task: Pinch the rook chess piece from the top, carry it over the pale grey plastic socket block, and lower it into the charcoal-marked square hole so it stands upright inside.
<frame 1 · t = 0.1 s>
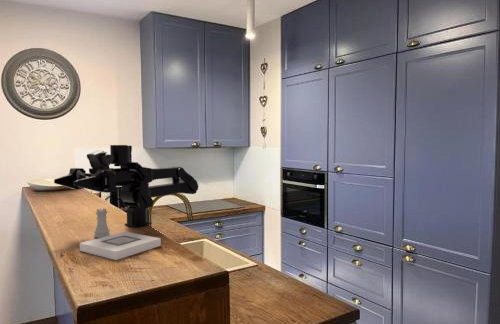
hand: (63, 182, 97), 17 cm above the countertop, tool horizontal, fingers open, 9 cm apart
rook chess piece: (102, 237, 104), on the countertop
socket block: (121, 248, 92), on the countertop
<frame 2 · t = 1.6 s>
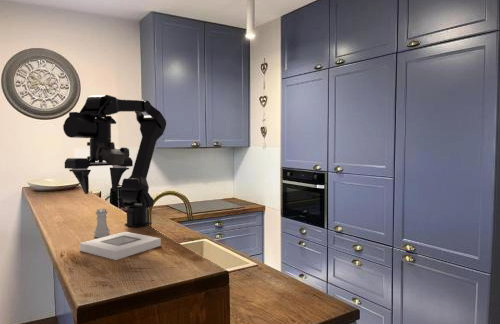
hand: (101, 192, 103), 13 cm above the countertop, tool pointing down, fingers open, 9 cm apart
nothing on the countertop moved.
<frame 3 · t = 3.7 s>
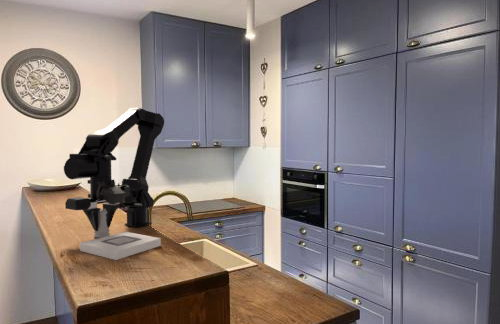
hand: (101, 229, 104), 2 cm above the countertop, tool pointing down, fingers closed on rook chess piece, 3 cm apart
rook chess piece: (102, 237, 104), on the countertop, touching gripper
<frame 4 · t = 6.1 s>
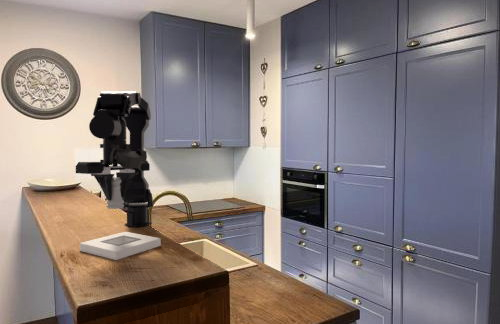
hand: (115, 199, 93), 12 cm above the countertop, tool pointing down, fingers closed on rook chess piece, 3 cm apart
rook chess piece: (115, 208, 93), point 10 cm above the countertop, touching gripper
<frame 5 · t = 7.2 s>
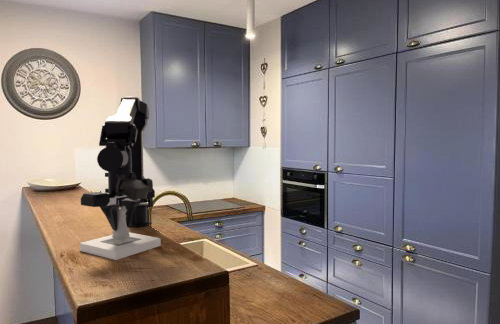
hand: (121, 228, 91), 5 cm above the countertop, tool pointing down, fingers closed on rook chess piece, 3 cm apart
rook chess piece: (121, 238, 92), point 3 cm above the countertop, touching gripper
when the fingers open (3 cm above the countertop, at t = 8.3 s): rook chess piece stays where it is, resting in socket block.
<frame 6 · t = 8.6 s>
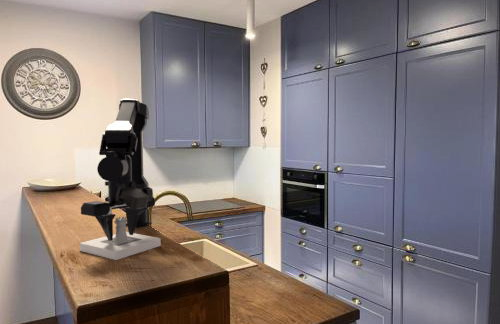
hand: (121, 237, 91), 3 cm above the countertop, tool pointing down, fingers open, 6 cm apart
rook chess piece: (121, 248, 92), resting in socket block
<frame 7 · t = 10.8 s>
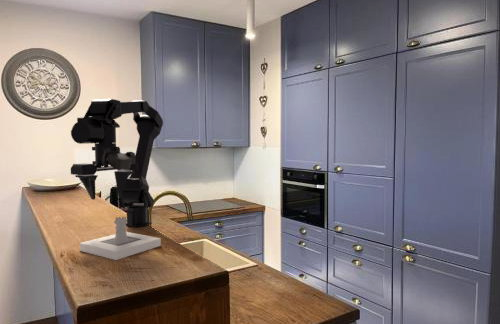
hand: (107, 197, 103), 12 cm above the countertop, tool pointing down, fingers open, 9 cm apart
nothing on the countertop moved.
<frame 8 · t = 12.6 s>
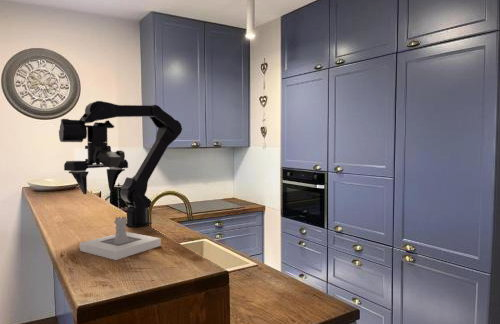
hand: (98, 192, 110), 12 cm above the countertop, tool pointing down, fingers open, 9 cm apart
nothing on the countertop moved.
at the end: rook chess piece 0.1 cm off-centre on the socket block, point 0.0 cm above the socket block's base; rook chess piece tilted 0°; the gripper is holding nothing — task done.
